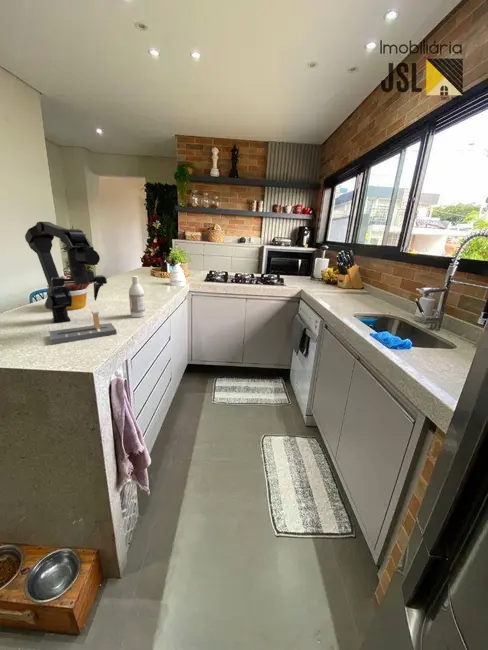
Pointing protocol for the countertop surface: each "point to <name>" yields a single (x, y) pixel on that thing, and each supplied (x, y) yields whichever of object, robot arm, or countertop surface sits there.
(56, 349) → the countertop surface
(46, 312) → the countertop surface
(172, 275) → the honey pot
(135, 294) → the bath foam
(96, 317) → the fader tab
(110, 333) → the console
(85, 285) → the bucket of meat
